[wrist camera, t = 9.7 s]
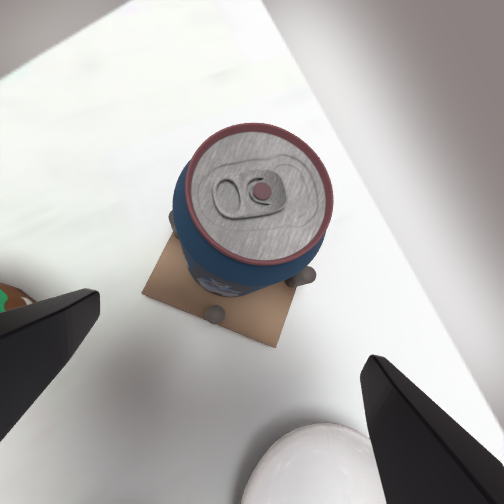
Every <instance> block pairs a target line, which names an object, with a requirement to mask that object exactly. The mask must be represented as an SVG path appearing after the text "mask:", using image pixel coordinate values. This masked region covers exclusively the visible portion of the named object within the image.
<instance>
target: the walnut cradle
mask: <svg viewBox="0 0 504 504" xmlns="http://www.w3.org/2000/svg"><path fill="white" fill-rule="evenodd" d="M169 221H170V224H171V227H172V230H173V233H172V235H171V237H170V239H169V241H168V243H167V245H166V247H165V249H164V250H163V252H162V254H161V256H160V258H159V260H158V262H157V264H156V266H155V268H154V270H153V272H152V274H151V276H150V278H149V280H148V282H147V284H146V285H145V287H144V289H143V291H142V294H144V295H147V296H149V297H151V298H154V299H156V300H159V301H161V302H164V303H166V304H169V305H171V306H174V307H176V308H178V309H181V310H183V311H186V312H188V313H191V314H193V315H196V316H198V317H200V318H203V319H205V320H208V321H209V322H210V323H212V324H218V325H220V326H223V327H225V328H227V329H230V330H232V331H235V332H237V333H240V334H242V335H245V336H247V337H249V338H252V339H254V340H257V341H259V342H262V343H264V344H267V345H269V346H271V347H274V348H276V345H277V343H278V340H279V337H280V334H281V331H282V328H283V325H284V322H285V319H286V316H287V314H288V311H289V308H290V305H291V302H292V299H293V296H294V293H295V290H296V287H297V286H300V285H304V284H308V283H312V282H313V281H314V280H315V278H316V272H315V270H314V269H313V268H312V267H309V266H306V267H305V268H304V269H303V270H301V271H300V272H299V273H297V274H296V275H294V276H292V277H291V278H289V279H286V280H284V281H282V282H279V283H276V284H273V285H271V286H268V287H265V288H263V289H260V290H257V291H255V292H252V293H249V294H246V295H243V296H239V297H224V296H219V295H216V294H213V293H211V292H209V291H207V290H206V289H204V288H203V287H201V286H200V285H199V284H198V283H197V282H196V281H195V280H194V278H193V277H192V275H191V274H190V272H189V270H188V267H187V264H186V261H185V257H184V254H183V251H182V247H181V244H180V240H179V237H178V233H177V230H176V226H175V222H174V217H173V210H172V211H171V212H170V214H169Z"/></svg>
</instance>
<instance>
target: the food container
mask: <svg viewBox="0 0 504 504" xmlns="http://www.w3.org/2000/svg"><path fill="white" fill-rule="evenodd" d="M32 303H36V301H35V300H33V299H32V298H31V297H29V296H28V295H27V294H25V293H24V292H23V291H21V290H20V289H18V288H15V287H12V286H9V285H6V284H3V283H0V313H1V312H5V311H8V310H12V309H15V308H18V307H22V306H25V305H29V304H32Z"/></svg>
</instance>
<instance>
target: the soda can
mask: <svg viewBox="0 0 504 504" xmlns="http://www.w3.org/2000/svg"><path fill="white" fill-rule="evenodd" d="M332 211H333V190H332V185H331V181H330V178H329V175H328V173H327V170H326V168H325V166H324V165H323V163H322V161H321V160H320V158H319V157H318V156H317V154H316V153H315V152H314V151H313V150H312V149H311V148H310V147H309V146H308V145H307V144H306V143H305V142H304V141H302V140H301V139H300V138H298V137H297V136H295V135H294V134H292V133H290V132H288V131H286V130H284V129H282V128H280V127H277V126H274V125H270V124H264V123H244V124H238V125H233V126H230V127H227V128H225V129H222V130H220V131H218V132H216V133H215V134H213V135H212V136H210V137H209V138H208V139H207V140H206V141H204V142H203V143H202V144H201V146H200V147H199V148H198V149H197V151H196V152H195V154H194V155H193V157H192V159H191V160H190V161H189V162H188V163H187V165H186V166H185V167H184V169H183V170H182V172H181V174H180V176H179V178H178V181H177V183H176V186H175V190H174V195H173V217H174V222H175V226H176V230H177V233H178V237H179V240H180V244H181V247H182V251H183V254H184V257H185V261H186V264H187V267H188V270H189V272H190V274H191V275H192V277H193V278H194V280H195V281H196V282H197V283H198V284H199V285H200V286H201V287H203V288H204V289H206V290H207V291H209V292H211V293H213V294H216V295H219V296H224V297H239V296H243V295H246V294H249V293H252V292H255V291H257V290H260V289H263V288H265V287H268V286H271V285H273V284H276V283H279V282H282V281H284V280H286V279H289V278H291V277H292V276H294V275H296V274H297V273H299V272H300V271H301V270H303V269H304V268H305V267H306V266H307V265H308V264H309V263H310V262H311V261H312V260H313V258H314V257H315V256H316V254H317V252H318V251H319V249H320V247H321V245H322V242H323V240H324V237H325V233H326V230H327V228H328V225H329V223H330V220H331V216H332Z"/></svg>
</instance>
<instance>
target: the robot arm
mask: <svg viewBox="0 0 504 504" xmlns="http://www.w3.org/2000/svg"><path fill="white" fill-rule="evenodd" d="M99 315H100V294H99V292H98V291H96V290H92V289H87V288H84V289H81V290H77V291H74V292H70V293H67V294H63V295H60V296H57V297H53V298H50V299H46V300H43V301H39V302H36V303H32V304H29V305H25V306H22V307H18V308H15V309H12V310H8V311H5V312H1V313H0V442H1V441H2V439H3V438H4V437H5V436H6V435H7V433H8V432H9V431H10V430H11V429H12V428H13V426H14V425H15V424H16V423H17V422H18V420H19V419H20V418H21V417H22V416H23V414H24V413H25V412H26V411H27V410H28V409H29V407H30V406H31V405H32V404H33V403H34V401H35V400H36V399H37V398H38V397H39V396H40V394H41V393H42V392H43V391H44V390H45V388H46V387H47V386H48V385H49V384H50V382H51V381H52V380H53V379H54V378H55V377H56V375H57V374H58V373H59V372H60V371H61V369H62V368H63V367H64V366H65V365H66V363H67V362H68V361H69V360H70V358H71V357H72V356H73V354H74V353H75V351H76V350H77V348H78V347H79V345H80V344H81V343H82V341H83V340H84V338H85V337H86V335H87V334H88V332H89V331H90V330H91V328H92V327H93V325H94V324H95V322H96V321H97V319H98V317H99ZM360 382H361V389H362V395H363V402H364V409H365V415H366V422H367V427H368V432H369V436H370V440H371V444H372V448H373V452H374V456H375V460H376V464H377V468H378V472H379V476H380V480H381V484H382V488H383V492H384V496H385V500H386V504H504V466H503V464H502V463H501V462H500V461H499V460H498V459H497V458H496V457H494V456H493V455H492V454H491V453H490V452H489V451H488V450H487V449H486V448H484V447H483V446H482V445H481V444H480V443H479V442H478V441H477V440H476V439H475V438H473V437H472V436H471V435H470V434H469V433H468V432H467V431H466V430H465V429H463V428H462V427H461V426H460V425H459V424H458V423H457V422H456V421H455V420H453V419H452V418H451V417H450V416H449V415H448V414H447V413H446V412H445V411H444V410H442V409H441V408H440V407H439V406H438V405H437V404H436V403H435V402H434V401H432V400H431V399H430V398H429V397H428V396H427V395H426V394H425V393H424V392H423V391H421V390H420V389H419V388H418V387H417V386H416V385H415V384H414V383H413V382H411V381H410V380H409V379H408V378H407V377H406V376H405V375H404V374H403V373H402V372H400V371H399V370H398V369H397V368H396V367H395V366H394V365H393V364H392V363H390V362H389V361H388V360H387V359H386V358H385V357H382V356H378V355H370V356H369V358H368V360H367V362H366V363H365V365H364V367H363V369H362V371H361V374H360Z"/></svg>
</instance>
